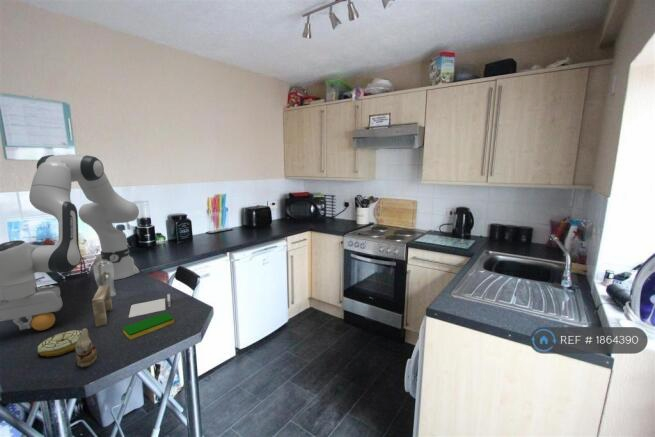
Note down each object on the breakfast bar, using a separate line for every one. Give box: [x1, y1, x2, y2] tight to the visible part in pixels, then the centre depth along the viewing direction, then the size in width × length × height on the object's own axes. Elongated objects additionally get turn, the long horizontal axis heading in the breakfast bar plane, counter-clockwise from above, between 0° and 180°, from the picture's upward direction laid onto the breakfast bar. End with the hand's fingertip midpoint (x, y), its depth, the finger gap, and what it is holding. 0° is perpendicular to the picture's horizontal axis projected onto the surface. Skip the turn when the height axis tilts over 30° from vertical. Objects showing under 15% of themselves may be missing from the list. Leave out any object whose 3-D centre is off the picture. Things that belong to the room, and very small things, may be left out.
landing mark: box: [128, 298, 166, 319], centre depth 117 cm, size 12×12×1 cm
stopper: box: [166, 293, 172, 308], centre depth 121 cm, size 8×1×2 cm, turn 29°
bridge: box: [91, 285, 113, 327], centre depth 110 cm, size 3×15×10 cm, turn 29°
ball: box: [31, 312, 56, 331], centre depth 102 cm, size 6×6×6 cm
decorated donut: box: [37, 329, 82, 357], centre depth 91 cm, size 10×11×4 cm
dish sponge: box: [122, 312, 175, 340], centre depth 102 cm, size 7×14×2 cm, turn 139°
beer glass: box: [92, 261, 117, 298], centre depth 128 cm, size 7×7×15 cm
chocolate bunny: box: [74, 327, 98, 368], centre depth 84 cm, size 6×8×10 cm
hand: (26, 328), depth 100 cm, fingers closed
